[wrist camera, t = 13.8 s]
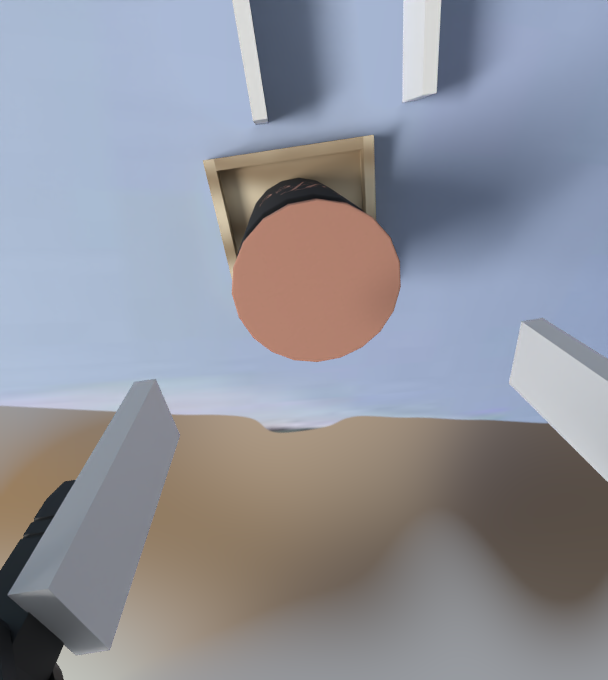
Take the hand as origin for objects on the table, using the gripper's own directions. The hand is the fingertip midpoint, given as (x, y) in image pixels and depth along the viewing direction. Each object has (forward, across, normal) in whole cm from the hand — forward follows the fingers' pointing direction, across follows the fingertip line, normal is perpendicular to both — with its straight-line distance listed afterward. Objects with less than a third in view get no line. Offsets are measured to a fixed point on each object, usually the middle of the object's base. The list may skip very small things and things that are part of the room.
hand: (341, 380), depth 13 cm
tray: (+29, 0, 0) cm, 29 cm away
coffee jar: (+28, 0, 0) cm, 28 cm away
